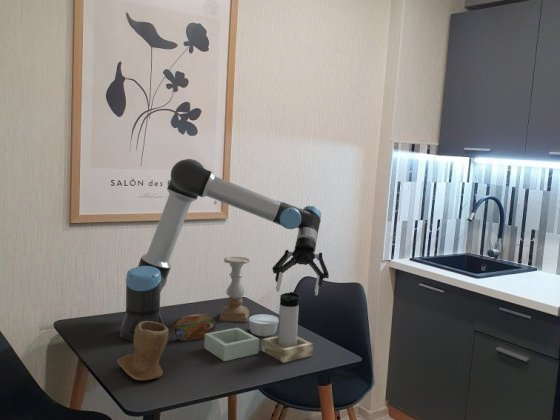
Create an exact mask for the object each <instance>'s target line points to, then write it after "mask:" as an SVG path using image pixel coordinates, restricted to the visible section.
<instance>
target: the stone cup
mask: <svg viewBox="0 0 560 420" xmlns="http://www.w3.org/2000/svg"><path fill="white" fill-rule="evenodd" d="M169 333H170V332H169V328H168V327H167V326H166V325H165V324H164V323H163V324H161V323H157V322H153V321H142V322H140V323H139V324H137V326H136V328H135V332H134V340H133V341H132V343H133V350H134V353H133V354H132V353H131V354H126V355H123V356H121V357H120V358H119V357H118V359H117V364H118V365H119V367H121V368H122V370H123V371H124V372H125V373H126V374H127V375H128V376H130V378H132V379H133V380H136V381H150V380H154V379H157V378H160V377H162V376H163V374H164V370H163V369H162V366H161V365H160V359H161V356H162V354H163V352H164V350H165V348H166V345H167V344H168V340H169Z"/></svg>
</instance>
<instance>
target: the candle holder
mask: <svg viewBox="0 0 560 420" xmlns="http://www.w3.org/2000/svg"><path fill="white" fill-rule="evenodd" d="M223 262H224V263H227V264H229V266H230V268H231V272H230V273H229V276H230V278H231V282H230V284H229V285H228V287H227V289H226V293H225V294H226V296H227V297H228V299H227V305H224V306H223V309H222V310H221V312H220V314H219V319H218V320H219V322H229V323H230V322H231V323H247V322H249V318H250V309H248V307H247V306H244V305H242V304H243V303H244V302H243V297H244V296H245V288H244V287H243V285H242V282H241V279H242V278H243V276H244V274H243V273H242V268H243V266H244V265H245V264H248V263H250V259H249V258H247V257H242V256H228V257H225V258H224V259H223Z"/></svg>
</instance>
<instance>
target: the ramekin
mask: <svg viewBox="0 0 560 420" xmlns="http://www.w3.org/2000/svg"><path fill="white" fill-rule="evenodd" d="M248 324H249V330H250V332H251V335H253V336H254V335H255V336H257V337H258V336H259V337H270V336H271V337H272V336H274V335H275V334H276V333H277V329H278V327H279V317H278V316H275V315H273V314H272V315H271V314H263V313H261V314H260V313H259V314H254V315H251V316H249V317H248Z"/></svg>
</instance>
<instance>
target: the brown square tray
mask: <svg viewBox="0 0 560 420" xmlns="http://www.w3.org/2000/svg"><path fill="white" fill-rule="evenodd" d="M261 340H262V342H261V344H262V345H261V347H262V348H261V352H262V351H263V352H264V353H265V354H267V355H269V356H271V357H272V358H274V359H276V360H278V361H280V362H282V363H288V362H293V361H297V360H300V359H304V358H308V357H313V350H314V343H312V342H310V341H308V340H306V339H304V338H302V337H300V336H298V335H297V346H292V347H288V348H284V347H282V346H280V345H278V335H276V336H271V337H270V336H269V337H266V338H262V339H261Z"/></svg>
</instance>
